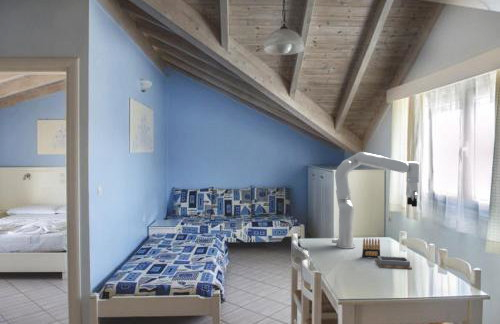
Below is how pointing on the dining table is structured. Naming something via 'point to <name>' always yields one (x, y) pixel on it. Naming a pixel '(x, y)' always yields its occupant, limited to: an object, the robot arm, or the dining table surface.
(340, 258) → the dining table surface
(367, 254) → the ammunition clip
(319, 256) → the dining table surface
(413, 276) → the dining table surface
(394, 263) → the pocket board
